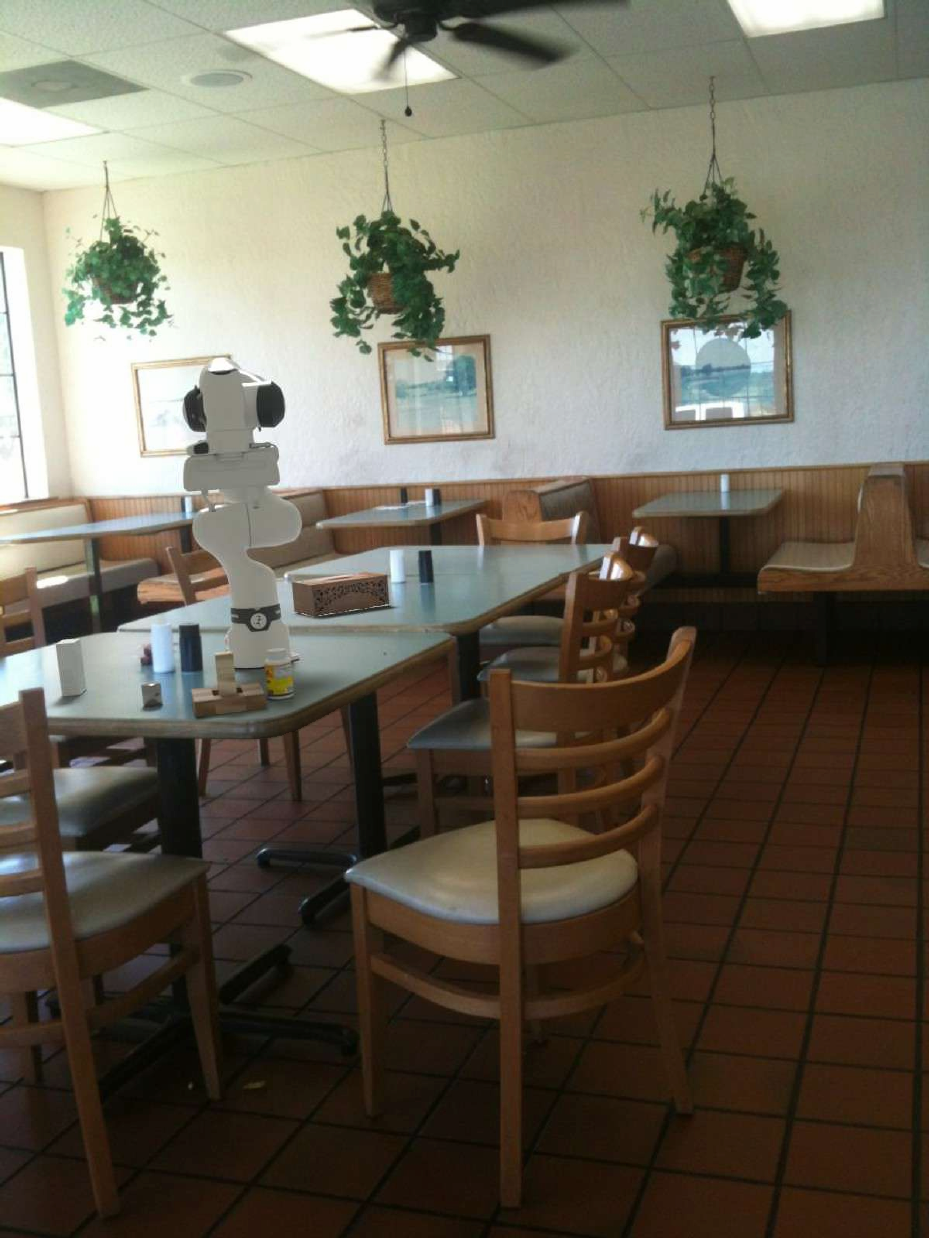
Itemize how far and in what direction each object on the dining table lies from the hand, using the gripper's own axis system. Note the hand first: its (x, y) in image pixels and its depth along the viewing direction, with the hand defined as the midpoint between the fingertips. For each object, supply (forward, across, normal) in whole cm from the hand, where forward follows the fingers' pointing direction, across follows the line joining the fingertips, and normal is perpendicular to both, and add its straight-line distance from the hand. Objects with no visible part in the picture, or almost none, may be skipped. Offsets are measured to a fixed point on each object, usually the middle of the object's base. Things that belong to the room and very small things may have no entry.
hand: (234, 510), depth 267 cm
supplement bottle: (+39, -5, +12) cm, 41 cm away
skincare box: (+39, +38, -20) cm, 58 cm away
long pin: (+39, +6, +14) cm, 42 cm away
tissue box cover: (+40, -38, -112) cm, 125 cm away
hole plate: (+39, +6, +14) cm, 42 cm away
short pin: (+39, +21, +4) cm, 45 cm away
